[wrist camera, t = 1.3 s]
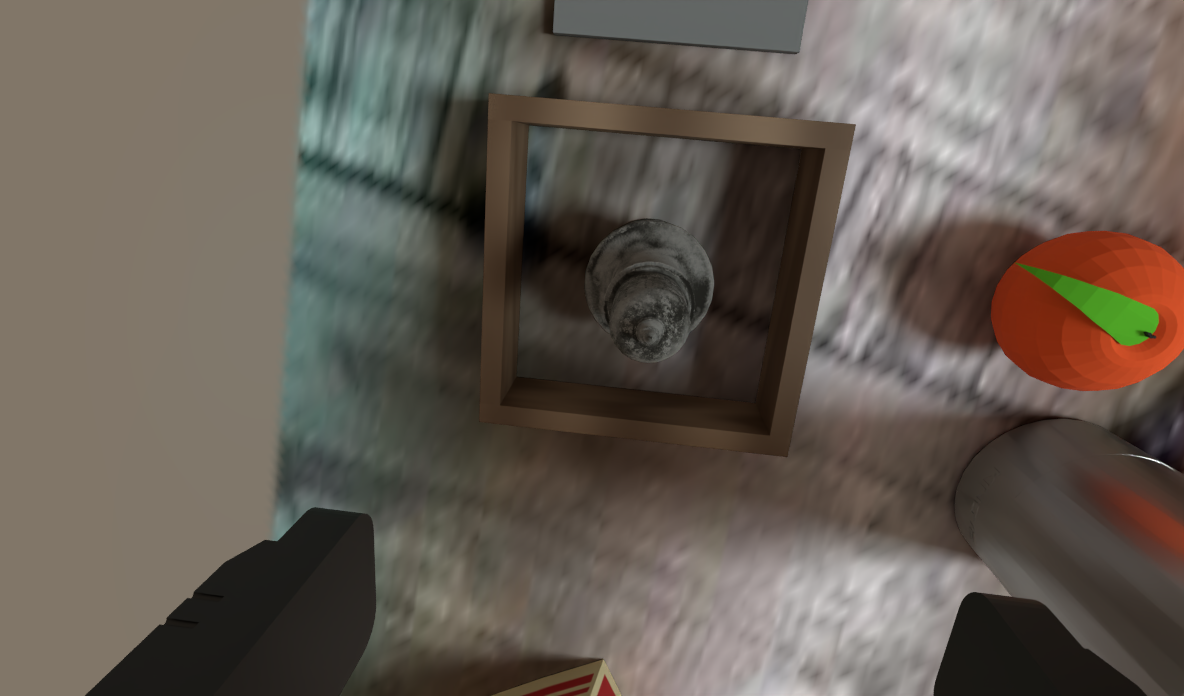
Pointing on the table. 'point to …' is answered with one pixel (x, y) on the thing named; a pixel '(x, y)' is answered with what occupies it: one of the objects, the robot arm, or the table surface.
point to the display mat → (687, 22)
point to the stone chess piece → (649, 288)
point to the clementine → (1091, 310)
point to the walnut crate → (646, 411)
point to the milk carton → (571, 683)
